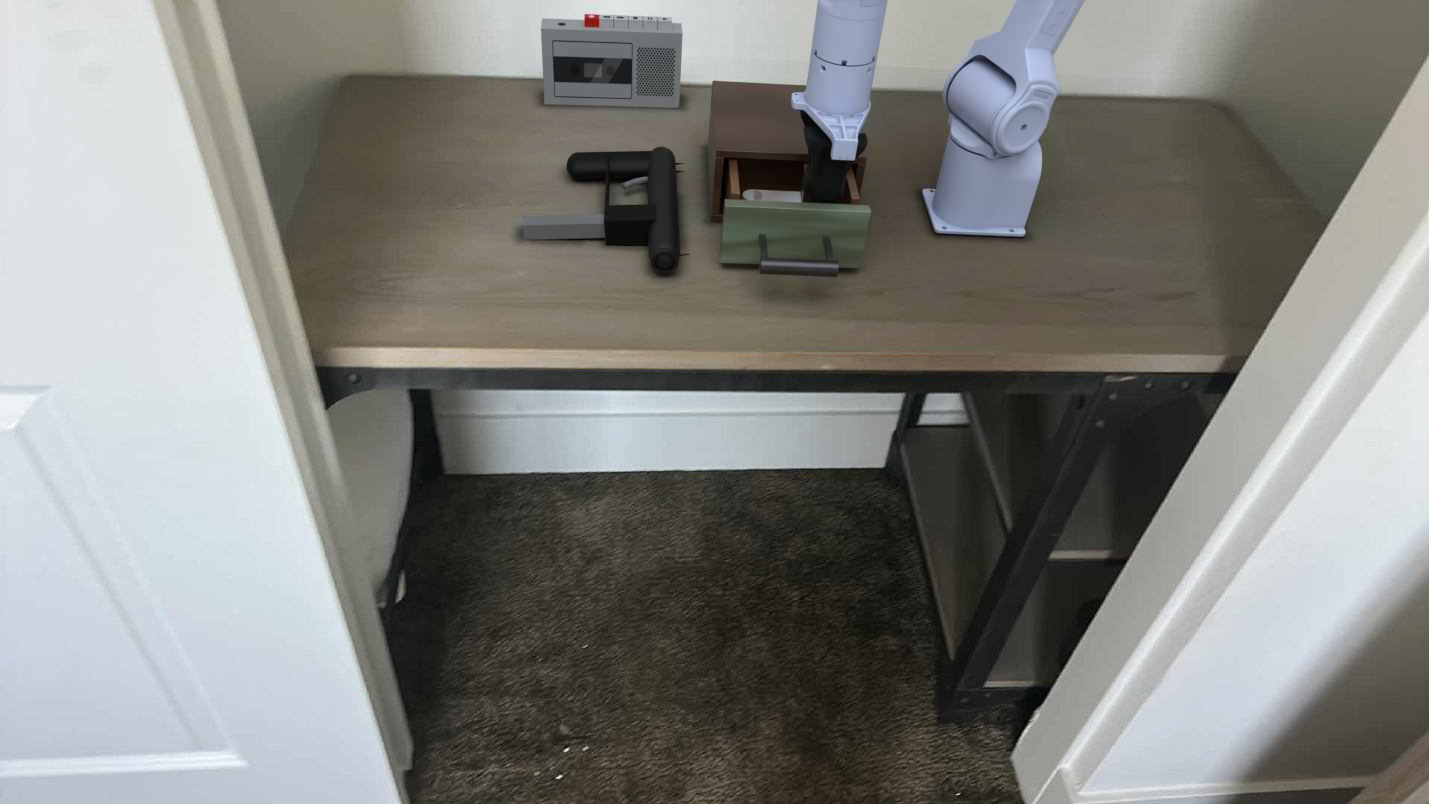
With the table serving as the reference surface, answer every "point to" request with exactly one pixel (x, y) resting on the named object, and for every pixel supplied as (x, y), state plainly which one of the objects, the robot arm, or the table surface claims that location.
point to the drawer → (789, 222)
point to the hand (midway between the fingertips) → (822, 189)
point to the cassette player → (612, 61)
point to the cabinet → (755, 131)
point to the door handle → (623, 206)
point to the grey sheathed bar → (792, 196)
